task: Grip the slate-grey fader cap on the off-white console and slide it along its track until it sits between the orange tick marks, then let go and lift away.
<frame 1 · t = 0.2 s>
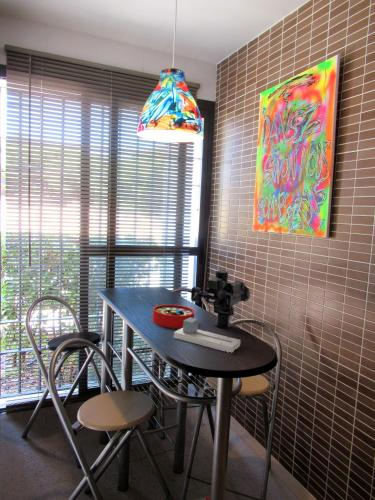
hand: (202, 301, 150), 17 cm above the table, tool horizontal, fingers open, 9 cm apart
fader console: (206, 341, 151), on the table
fader tab: (190, 325, 154), point 5 cm above the table, slide at -8.0 cm
red round tin: (172, 322, 176), on the table
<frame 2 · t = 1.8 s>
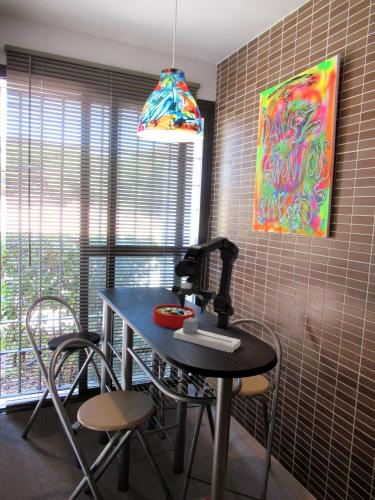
hand: (192, 311, 154), 11 cm above the table, tool pointing down, fingers open, 9 cm apart
nothing on the table moved.
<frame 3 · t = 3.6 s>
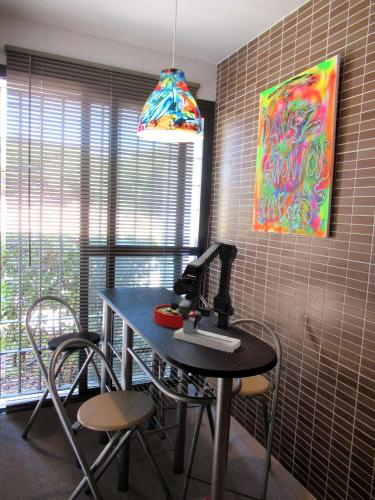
hand: (190, 328, 154), 4 cm above the table, tool pointing down, fingers closed on fader tab, 4 cm apart
fader tab: (190, 325, 154), point 5 cm above the table, slide at -8.0 cm, touching gripper
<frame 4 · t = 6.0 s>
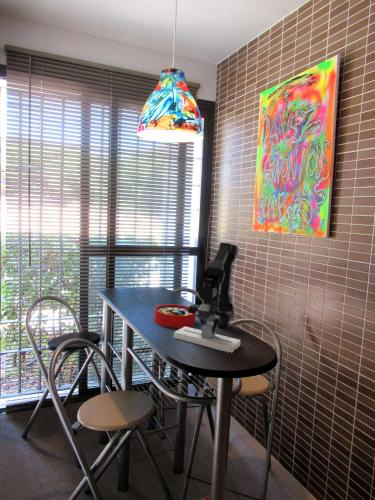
hand: (208, 332, 150), 4 cm above the table, tool pointing down, fingers closed on fader tab, 4 cm apart
fader tab: (208, 330, 150), point 5 cm above the table, slide at 0.6 cm, touching gripper
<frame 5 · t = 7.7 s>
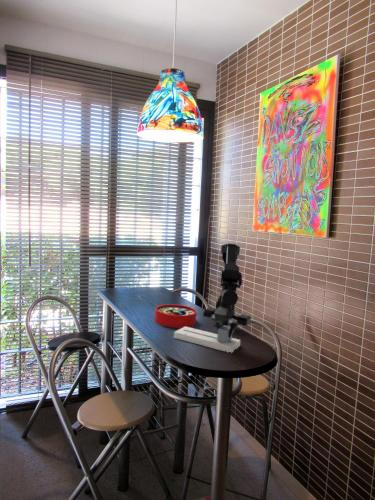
hand: (224, 336, 147), 4 cm above the table, tool pointing down, fingers closed on fader tab, 4 cm apart
fader tab: (225, 333, 147), point 5 cm above the table, slide at 7.8 cm, touching gripper
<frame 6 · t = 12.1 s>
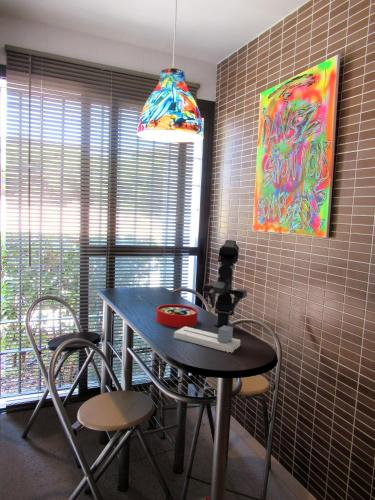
hand: (222, 310, 158), 12 cm above the table, tool pointing down, fingers open, 9 cm apart
fader tab: (225, 334, 147), point 5 cm above the table, slide at 8.0 cm
at the end: fader tab slide at 8.0 cm; the gripper is holding nothing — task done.
